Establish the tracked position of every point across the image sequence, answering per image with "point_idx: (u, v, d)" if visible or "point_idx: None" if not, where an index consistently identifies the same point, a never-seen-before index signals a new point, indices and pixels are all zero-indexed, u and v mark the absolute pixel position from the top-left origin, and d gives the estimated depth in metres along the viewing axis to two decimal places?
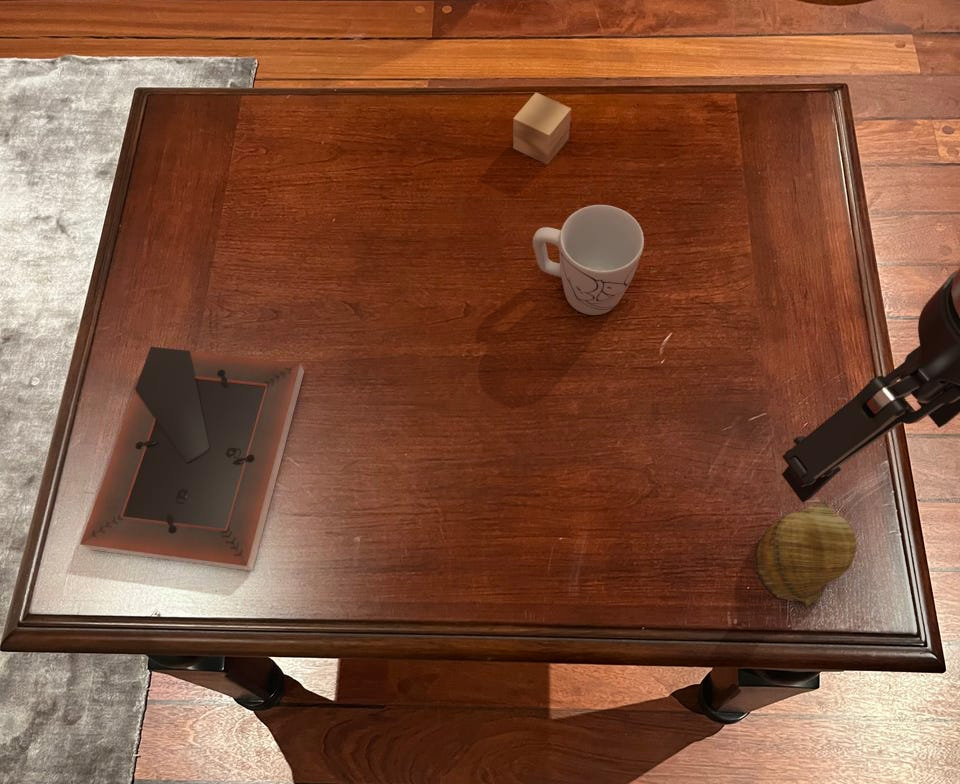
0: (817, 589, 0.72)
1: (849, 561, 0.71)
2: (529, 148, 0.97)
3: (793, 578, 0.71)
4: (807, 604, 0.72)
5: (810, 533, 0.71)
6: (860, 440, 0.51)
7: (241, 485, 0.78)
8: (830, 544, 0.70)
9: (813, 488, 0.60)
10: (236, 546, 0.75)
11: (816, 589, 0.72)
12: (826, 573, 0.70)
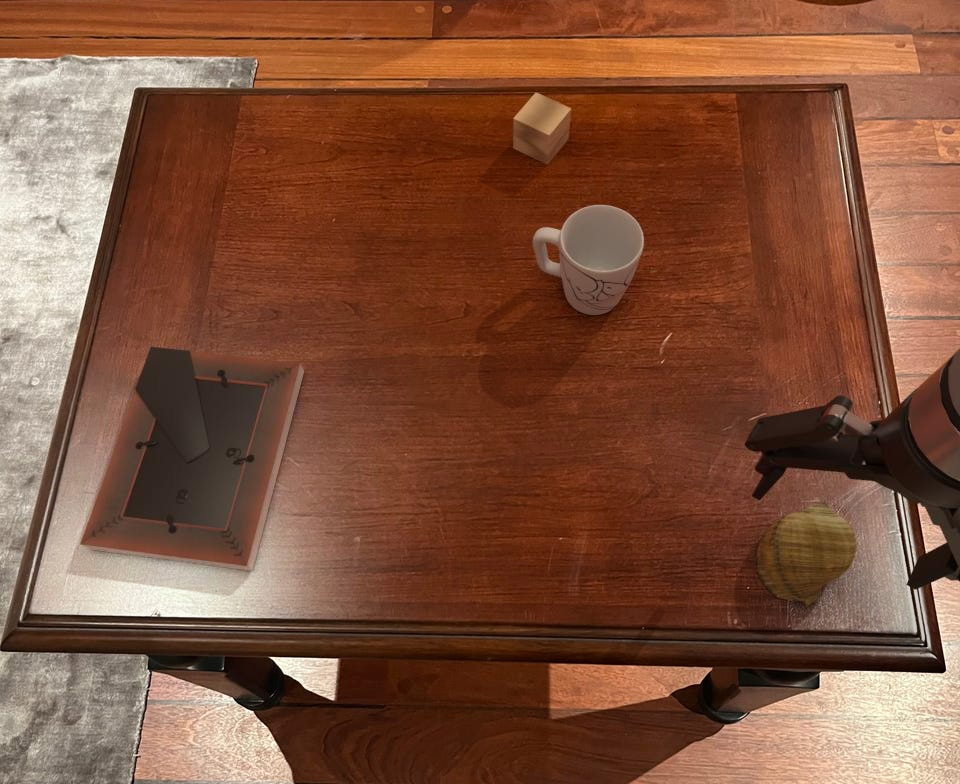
0: (817, 589, 0.72)
1: (849, 561, 0.71)
2: (529, 148, 0.97)
3: (793, 578, 0.71)
4: (807, 604, 0.72)
5: (810, 533, 0.71)
6: (795, 433, 0.57)
7: (241, 485, 0.78)
8: (830, 544, 0.70)
9: (762, 482, 0.65)
10: (236, 546, 0.75)
11: (816, 589, 0.72)
12: (826, 573, 0.70)
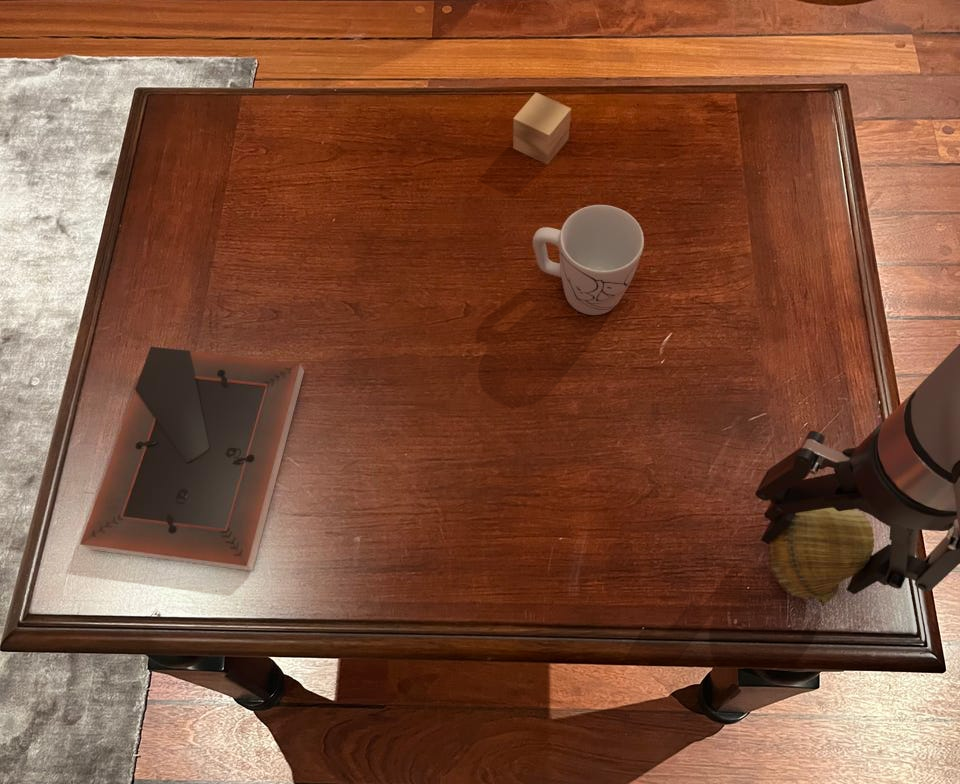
0: (834, 586, 0.69)
1: (867, 557, 0.67)
2: (529, 148, 0.97)
3: (809, 575, 0.68)
4: (824, 602, 0.69)
5: (826, 527, 0.68)
6: (784, 473, 0.61)
7: (241, 485, 0.78)
8: (847, 538, 0.67)
9: (771, 528, 0.70)
10: (236, 546, 0.75)
11: (833, 586, 0.68)
12: (843, 569, 0.67)
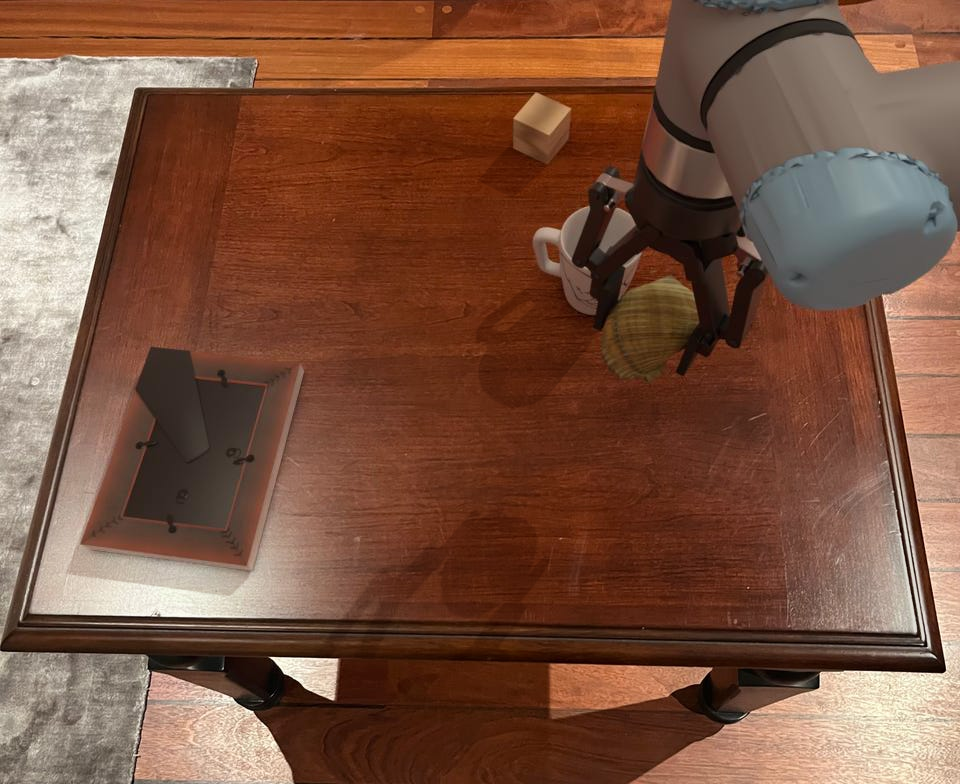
0: (659, 363, 0.66)
1: (690, 329, 0.65)
2: (529, 148, 0.97)
3: (631, 348, 0.65)
4: (648, 380, 0.67)
5: (649, 298, 0.65)
6: (586, 221, 0.59)
7: (241, 485, 0.78)
8: (668, 307, 0.64)
9: None
10: (236, 546, 0.75)
11: (657, 363, 0.66)
12: (664, 340, 0.65)
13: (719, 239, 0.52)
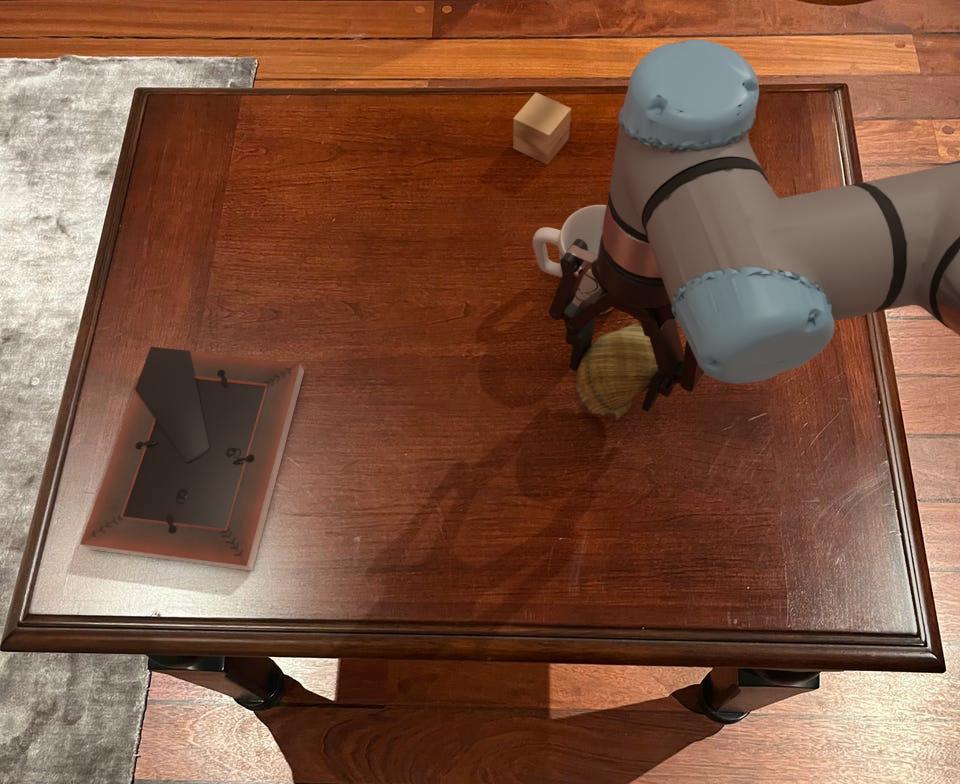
0: (626, 401, 0.76)
1: (653, 372, 0.75)
2: (529, 148, 0.97)
3: (601, 388, 0.75)
4: (617, 415, 0.76)
5: (616, 345, 0.75)
6: (559, 283, 0.69)
7: (241, 485, 0.78)
8: (633, 353, 0.74)
9: None
10: (236, 546, 0.75)
11: (625, 400, 0.76)
12: (629, 381, 0.74)
13: (669, 305, 0.62)
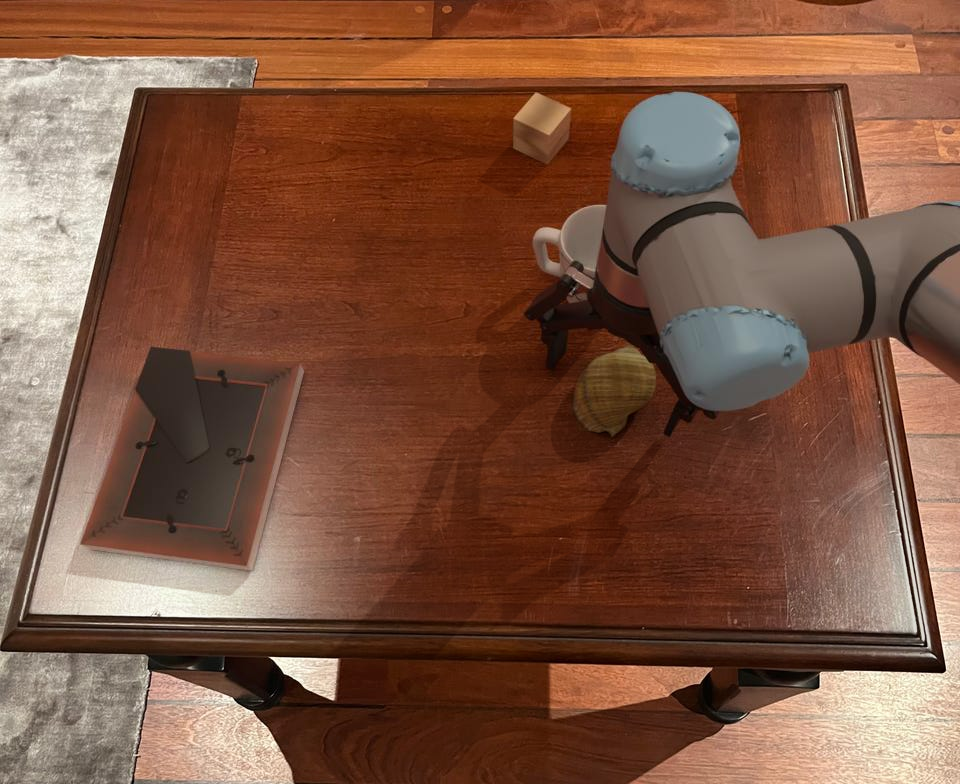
0: (621, 419, 0.80)
1: (646, 392, 0.79)
2: (529, 148, 0.97)
3: (597, 408, 0.79)
4: (612, 433, 0.80)
5: (611, 366, 0.79)
6: (548, 295, 0.71)
7: (241, 485, 0.78)
8: (627, 375, 0.78)
9: None
10: (236, 546, 0.75)
11: (619, 419, 0.80)
12: (624, 401, 0.78)
13: None
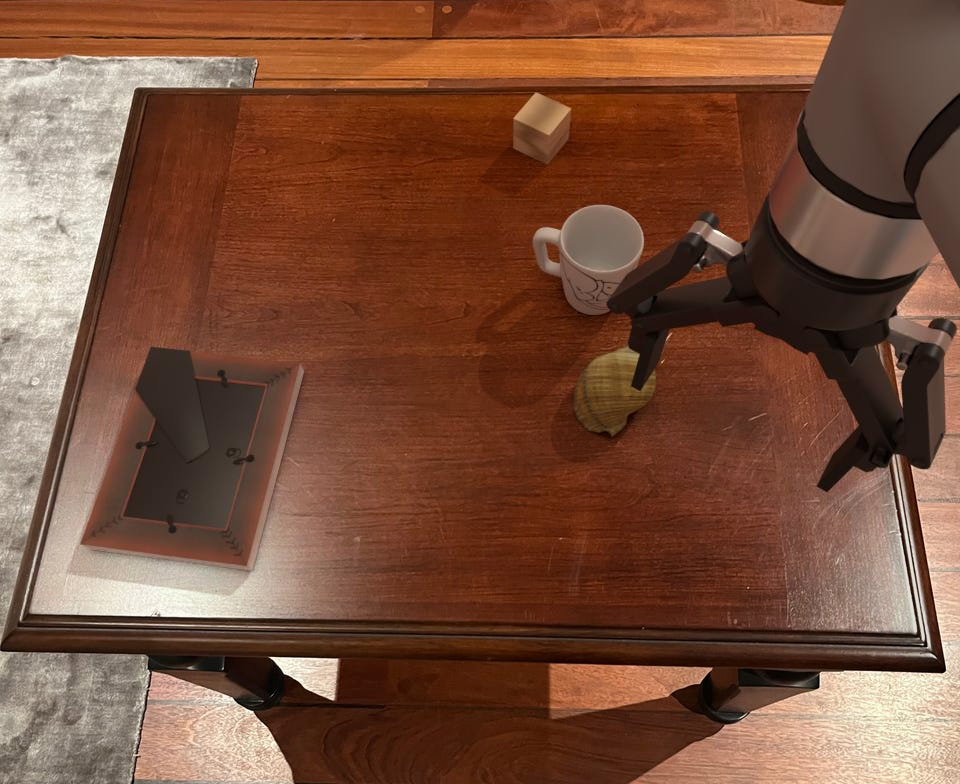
0: (621, 419, 0.80)
1: (646, 392, 0.79)
2: (529, 148, 0.97)
3: (597, 408, 0.79)
4: (612, 433, 0.80)
5: (611, 366, 0.79)
6: (654, 271, 0.44)
7: (241, 485, 0.78)
8: (627, 375, 0.78)
9: None
10: (236, 546, 0.75)
11: (619, 419, 0.80)
12: (624, 401, 0.78)
13: (865, 325, 0.38)
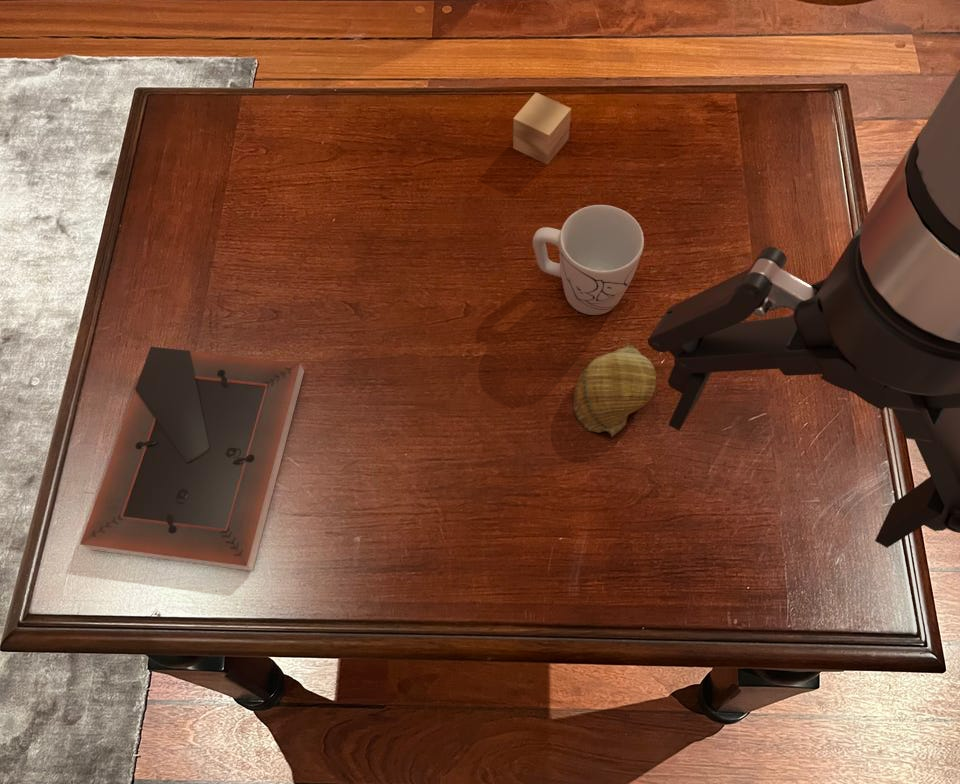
0: (621, 419, 0.80)
1: (646, 392, 0.79)
2: (529, 148, 0.97)
3: (597, 408, 0.79)
4: (612, 433, 0.80)
5: (611, 367, 0.79)
6: (708, 311, 0.39)
7: (241, 485, 0.78)
8: (627, 375, 0.78)
9: None
10: (236, 546, 0.75)
11: (619, 419, 0.80)
12: (624, 401, 0.78)
13: None
